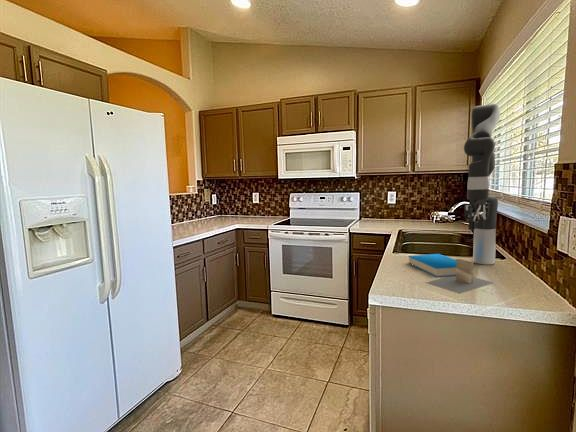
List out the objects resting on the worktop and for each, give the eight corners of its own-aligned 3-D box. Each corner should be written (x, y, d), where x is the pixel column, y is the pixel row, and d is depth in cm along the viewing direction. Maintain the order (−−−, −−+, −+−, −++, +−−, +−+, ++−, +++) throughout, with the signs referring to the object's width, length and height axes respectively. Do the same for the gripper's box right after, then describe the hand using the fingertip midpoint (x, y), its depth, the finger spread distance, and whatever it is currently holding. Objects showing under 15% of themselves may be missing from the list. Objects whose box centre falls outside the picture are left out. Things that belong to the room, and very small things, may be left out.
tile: (459, 278, 137) (460, 257, 136) (473, 282, 132) (474, 260, 131) (455, 279, 136) (456, 258, 135) (469, 283, 131) (470, 261, 130)
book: (436, 268, 140) (407, 255, 165) (436, 277, 141) (407, 263, 165) (473, 265, 142) (439, 252, 167) (472, 274, 143) (439, 261, 167)
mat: (459, 274, 144) (459, 273, 144) (494, 284, 131) (494, 282, 131) (425, 284, 134) (425, 282, 134) (459, 295, 121) (459, 293, 121)
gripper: (479, 187, 139) (478, 226, 141) (457, 188, 133) (456, 229, 135) (497, 187, 133) (496, 228, 135) (475, 189, 126) (474, 232, 128)
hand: (476, 229), depth 135 cm, fingers open, 5 cm apart
